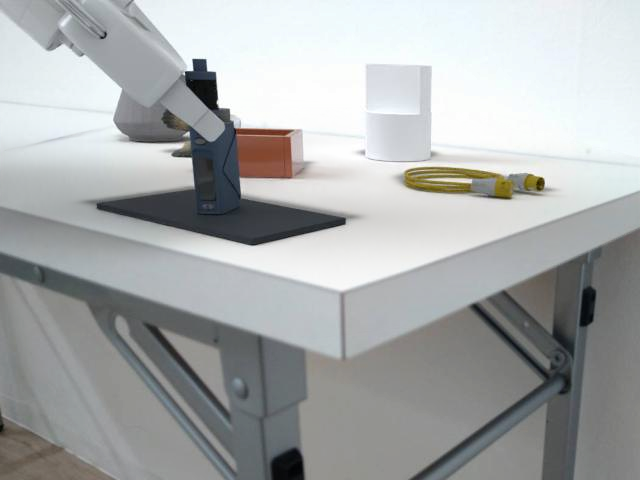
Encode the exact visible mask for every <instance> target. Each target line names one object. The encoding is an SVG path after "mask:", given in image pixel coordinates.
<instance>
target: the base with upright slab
mask: <svg viewBox="0 0 640 480" xmlns="http://www.w3.org/2000/svg"><path fill="white" fill-rule="evenodd" d="M432 68H433V66H432V65H425V64H424V65H423V64H422V65H421V64H393V63H365V110H364V131H365V132H364V148H365V149H364V150H365V151H364V152H365V154H364V157H365V158H367V159H369V160H373V161H374V160H375V161H382V162H383V161H384V162H422V161H428V160H430V159H431V156H432V155H431V153H432V73H433V69H432Z"/></svg>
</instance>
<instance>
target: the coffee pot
mask: <svg viewBox="0 0 640 480" xmlns="http://www.w3.org/2000/svg"><path fill="white" fill-rule="evenodd" d="M166 109H167V108H166V107H165V106H163V105H162V104H161V103H160V102H159V101H157V102H156V103H155V104H154V105H153V106H152V107H149V108H148V107H145V106H143V105H142V104H140V103H139V102H137V101H136V100H134V99H133V98H132V97H131V96H130V95H128V94H127V93H126V92H125V91H124V90H123V89H122V88H121V92H120V95H119V98H118V101H117V105H116V108H115V111H114V115H113V119H112V121H113V123H114V125H115V126H116V128H117V130H118V131H119V132H121V133H122V134H123V135H124V136H127V137H128V140H130V141H134V142H174V141H180V140H183V136H185V135H186V134H187V133H188V132H187V131H182V130H175V129H170V128H167V127H166V126H167V125H166V124H164V123H163V121H162V120H161V118H162V116H163V113H164V112H165V110H166Z"/></svg>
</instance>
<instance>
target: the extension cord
mask: <svg viewBox="0 0 640 480" xmlns="http://www.w3.org/2000/svg"><path fill="white" fill-rule="evenodd" d="M403 175H404V181H405V186H406V187H408V188H412V189H415V190H421V191H427V192H437V193H446V194H447V193H449V194H450V193H452V194H457V193H458V194H464V193H465V194H466V193H467V194H468V193H479V194H481V195H486V196H488V197H497V198H499V197H500V198H507V199H508V198H509V199H511V198H513V195H514V190H515V188H517V189H519V190H520V191H524V192H525V191H526V192H531V191H533V192H538V193H540V192H543V191H545V186H546V180H545V178H544V177H543V176H538V175H534V174H532V173H528V172H521V173H510V174H508V175H507V179H505V178H504V176H503V175H502V174H500V173H496V172H493V171H488V170H487V171H486V170H479V169H472V168H463V167H453V166H452V167H450V166H420V167H412V168H407V169H406V170H405V171H404V172H403ZM415 175H418V176H415ZM412 176H413V177H412ZM432 178H433V179H434V178H435V179H437V178H456V179H457V178H459V179H461V178H462V179H472V180H471V182H457V181H445V180H430V179H432Z"/></svg>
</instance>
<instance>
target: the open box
mask: <svg viewBox="0 0 640 480" xmlns="http://www.w3.org/2000/svg"><path fill="white" fill-rule="evenodd" d="M235 129H236V132H237V146H238V160H239V174H240V178H277V179H280V178H281V179H285V178H286V179H293V178H294V177H295V176H296V175H297V174H298V173H299V172H301V170H303V169H304V167H305V163H304V162H305V161H304V159H305V158H304V138H303V137H304V136H303V134H304V133H303V129H299V128H297V129H295V128H265V127H263V128H262V127H259V128H257V127H241V128H235Z"/></svg>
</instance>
